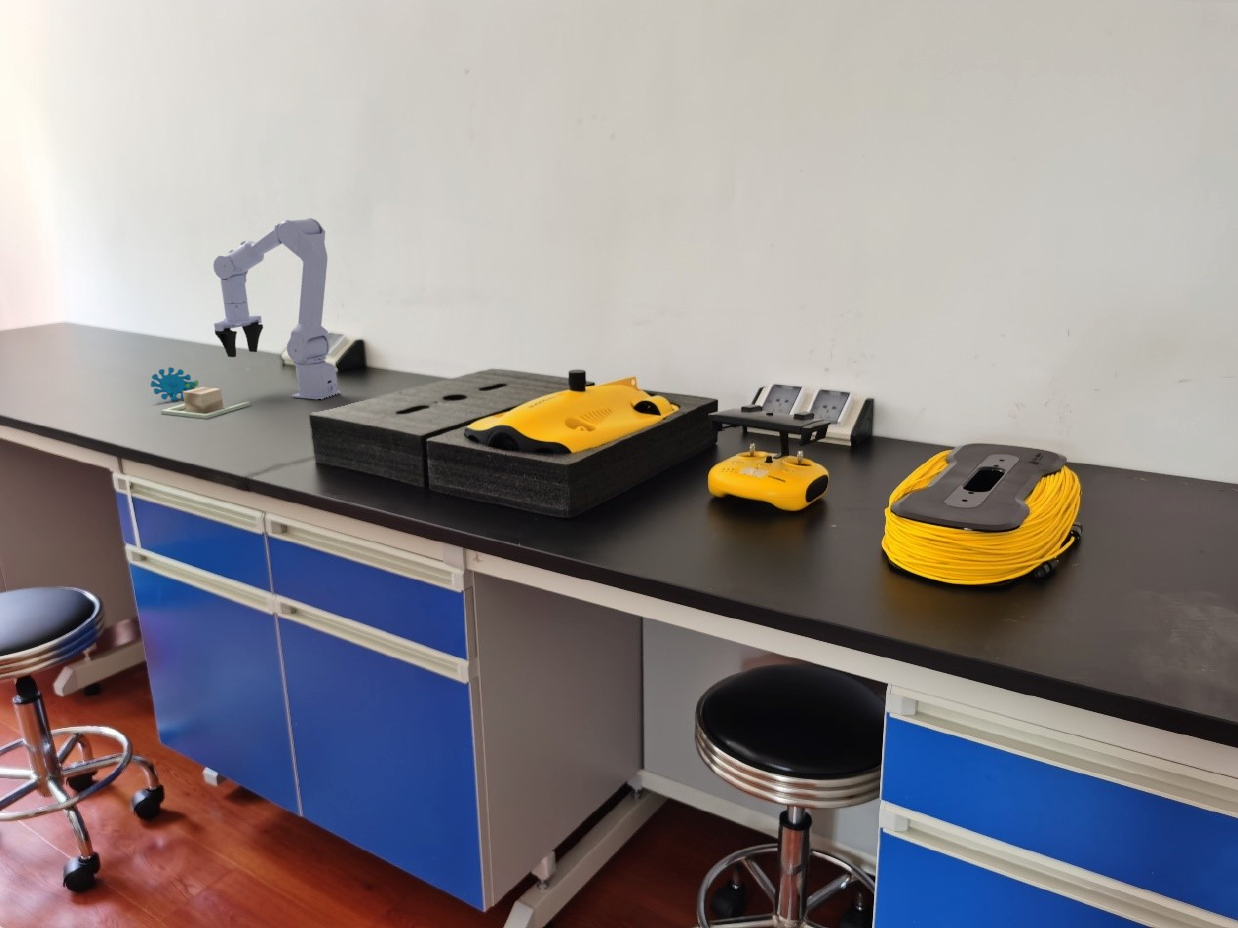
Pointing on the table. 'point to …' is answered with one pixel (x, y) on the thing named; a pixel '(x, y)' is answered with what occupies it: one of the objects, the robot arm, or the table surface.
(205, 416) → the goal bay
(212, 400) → the block
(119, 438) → the table surface
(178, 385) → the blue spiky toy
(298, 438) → the table surface
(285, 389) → the table surface
